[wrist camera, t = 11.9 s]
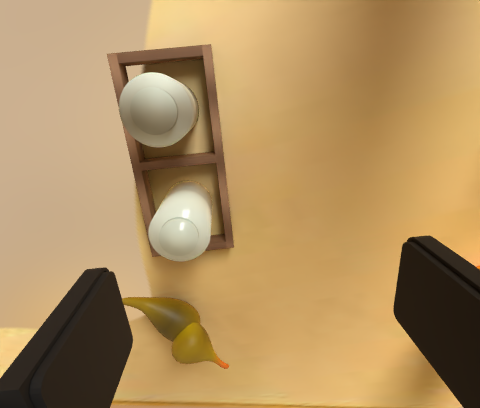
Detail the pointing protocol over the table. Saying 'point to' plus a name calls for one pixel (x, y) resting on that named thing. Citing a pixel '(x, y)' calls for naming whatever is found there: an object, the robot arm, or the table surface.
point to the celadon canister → (182, 222)
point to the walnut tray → (180, 159)
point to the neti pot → (178, 328)
